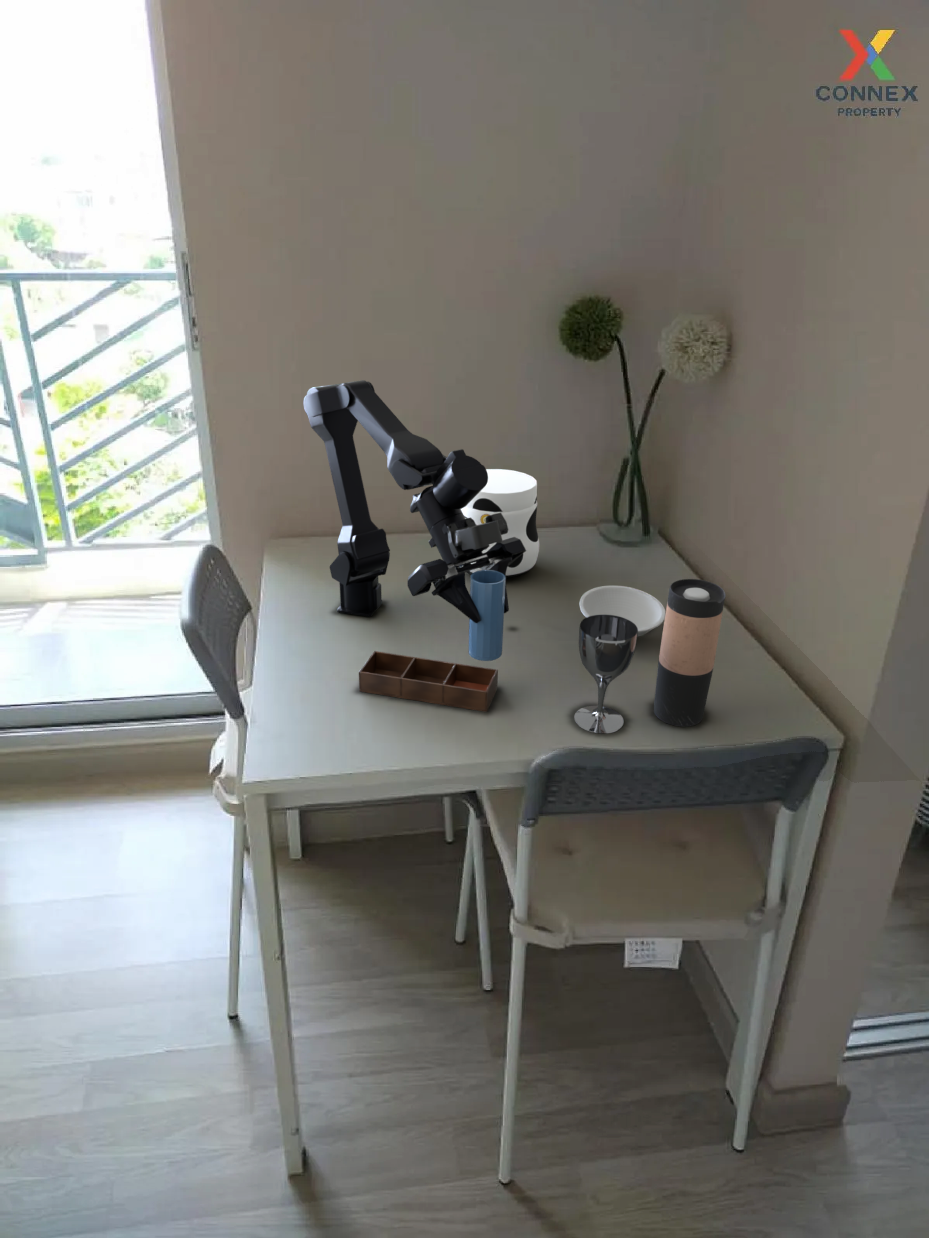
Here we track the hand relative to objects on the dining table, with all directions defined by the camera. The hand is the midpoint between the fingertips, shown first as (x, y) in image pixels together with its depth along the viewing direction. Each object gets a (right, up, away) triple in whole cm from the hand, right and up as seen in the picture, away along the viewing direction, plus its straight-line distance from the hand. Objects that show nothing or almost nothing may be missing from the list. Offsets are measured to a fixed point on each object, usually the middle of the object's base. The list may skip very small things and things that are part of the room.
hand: (492, 617), depth 127 cm
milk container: (+2, +10, +48) cm, 49 cm away
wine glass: (+15, -15, -1) cm, 21 cm away
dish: (+23, -3, +24) cm, 33 cm away
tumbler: (-1, -5, +4) cm, 7 cm away
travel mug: (+27, -14, +1) cm, 31 cm away
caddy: (-10, -11, +6) cm, 16 cm away
